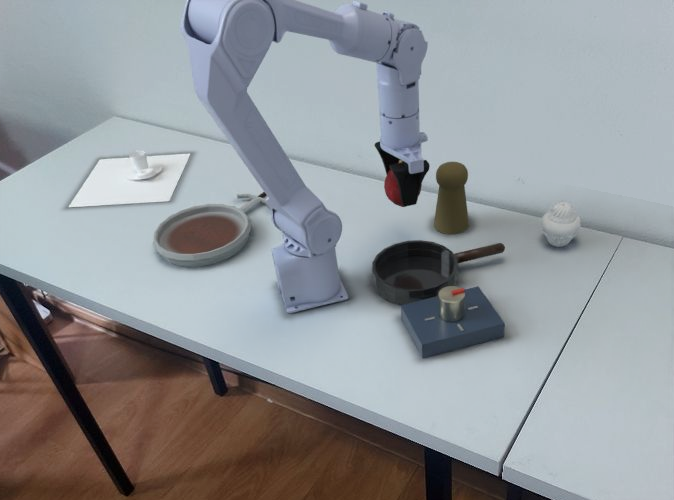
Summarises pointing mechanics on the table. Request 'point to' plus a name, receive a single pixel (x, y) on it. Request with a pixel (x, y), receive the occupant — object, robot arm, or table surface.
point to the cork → (451, 199)
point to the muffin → (560, 224)
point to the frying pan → (205, 233)
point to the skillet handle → (479, 252)
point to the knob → (451, 303)
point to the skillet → (413, 271)
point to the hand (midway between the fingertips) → (403, 194)
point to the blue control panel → (451, 324)
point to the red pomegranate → (393, 188)
